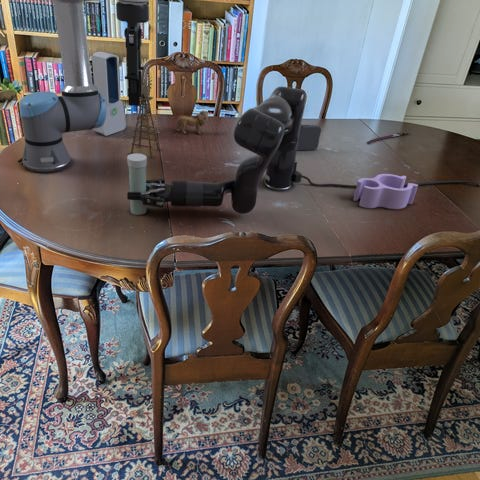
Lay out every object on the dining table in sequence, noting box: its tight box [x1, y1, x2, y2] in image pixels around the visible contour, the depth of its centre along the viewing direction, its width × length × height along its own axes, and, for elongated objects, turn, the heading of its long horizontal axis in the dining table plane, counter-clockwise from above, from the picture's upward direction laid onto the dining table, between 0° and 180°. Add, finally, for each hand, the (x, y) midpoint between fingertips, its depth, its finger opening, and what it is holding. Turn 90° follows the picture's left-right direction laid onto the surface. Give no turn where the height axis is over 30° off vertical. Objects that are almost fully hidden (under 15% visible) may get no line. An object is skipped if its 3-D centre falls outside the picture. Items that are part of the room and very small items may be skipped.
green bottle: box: [128, 165, 148, 216], centre depth 134 cm, size 5×5×17 cm
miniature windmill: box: [130, 70, 160, 158], centre depth 168 cm, size 9×8×30 cm
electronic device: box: [91, 51, 127, 137], centre depth 182 cm, size 12×8×30 cm, turn 148°
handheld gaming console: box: [297, 124, 322, 151], centre depth 189 cm, size 23×3×10 cm, turn 108°
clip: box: [352, 173, 419, 210], centre depth 157 cm, size 20×12×7 cm, turn 109°
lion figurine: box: [173, 110, 209, 135], centre depth 195 cm, size 15×5×9 cm, turn 110°
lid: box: [126, 152, 148, 168], centre depth 130 cm, size 5×5×2 cm
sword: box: [367, 132, 410, 144], centre depth 214 cm, size 31×3×1 cm, turn 126°
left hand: (135, 100), depth 121 cm, fingers open, 7 cm apart
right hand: (128, 191), depth 135 cm, fingers closed on green bottle, 4 cm apart
